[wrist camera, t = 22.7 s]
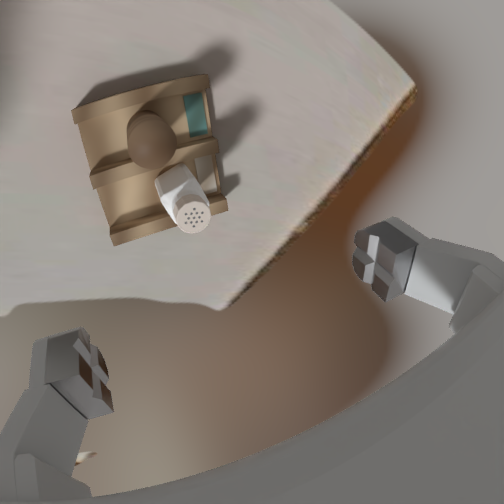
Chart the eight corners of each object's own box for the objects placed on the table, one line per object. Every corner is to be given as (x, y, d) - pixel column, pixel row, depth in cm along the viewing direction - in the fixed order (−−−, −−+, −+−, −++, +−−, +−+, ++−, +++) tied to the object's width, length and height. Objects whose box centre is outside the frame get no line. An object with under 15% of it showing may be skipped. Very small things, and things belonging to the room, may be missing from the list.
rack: (113, 234, 35) (114, 246, 33) (75, 107, 26) (71, 110, 24) (220, 201, 39) (228, 210, 37) (201, 74, 30) (208, 74, 27)
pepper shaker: (169, 205, 35) (185, 245, 28) (151, 178, 33) (163, 212, 26) (198, 187, 36) (223, 222, 28) (182, 159, 33) (203, 187, 26)
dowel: (123, 116, 28) (122, 128, 21) (159, 106, 29) (172, 115, 22) (131, 150, 30) (134, 174, 23) (166, 140, 31) (181, 161, 24)
